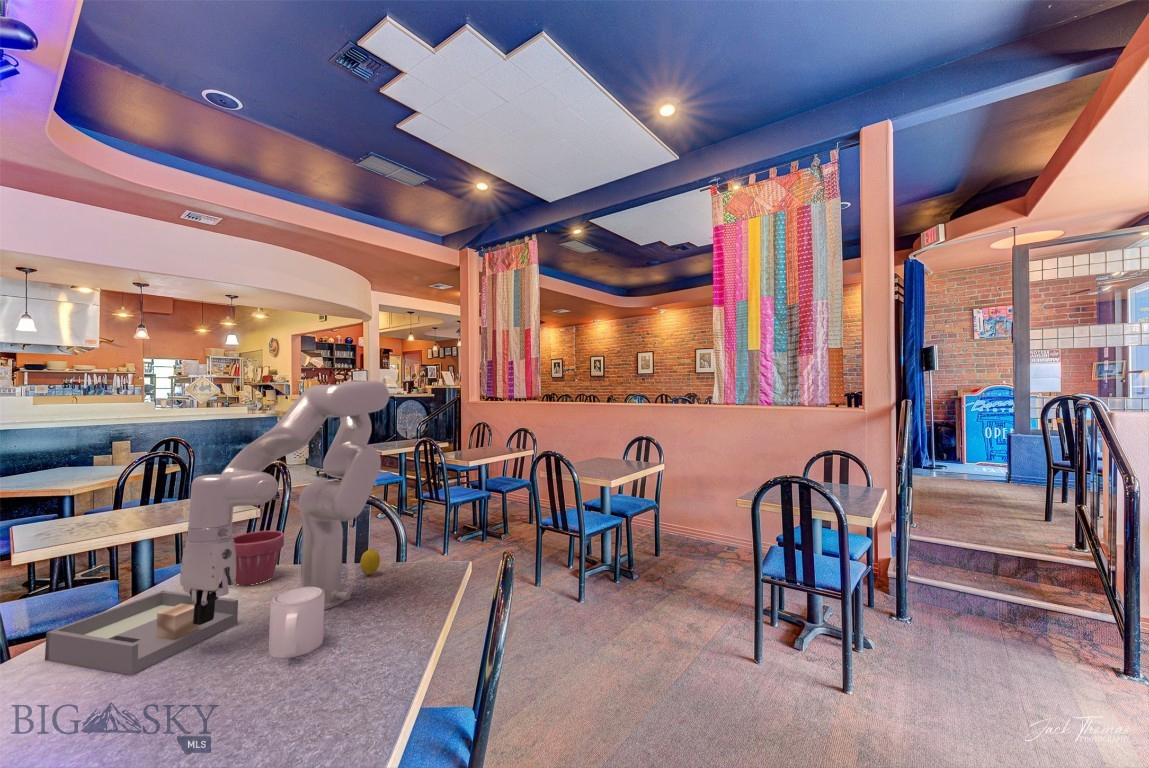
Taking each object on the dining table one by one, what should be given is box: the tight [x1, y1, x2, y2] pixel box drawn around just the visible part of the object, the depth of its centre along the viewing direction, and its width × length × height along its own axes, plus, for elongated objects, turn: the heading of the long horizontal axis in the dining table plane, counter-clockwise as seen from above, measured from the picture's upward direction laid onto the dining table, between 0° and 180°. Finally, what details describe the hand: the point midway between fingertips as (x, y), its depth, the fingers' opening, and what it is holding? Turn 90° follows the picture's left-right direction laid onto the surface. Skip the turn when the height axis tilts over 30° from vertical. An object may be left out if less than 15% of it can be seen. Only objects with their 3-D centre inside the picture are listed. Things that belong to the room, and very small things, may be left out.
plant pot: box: [231, 530, 285, 586], centre depth 139 cm, size 14×14×13 cm
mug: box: [268, 586, 325, 659], centre depth 100 cm, size 14×10×11 cm
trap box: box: [44, 590, 239, 676], centre depth 103 cm, size 23×22×6 cm
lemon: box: [359, 548, 381, 575], centre depth 143 cm, size 6×6×8 cm
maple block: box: [156, 604, 199, 640], centre depth 102 cm, size 5×5×5 cm
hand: (203, 621), depth 99 cm, fingers closed
